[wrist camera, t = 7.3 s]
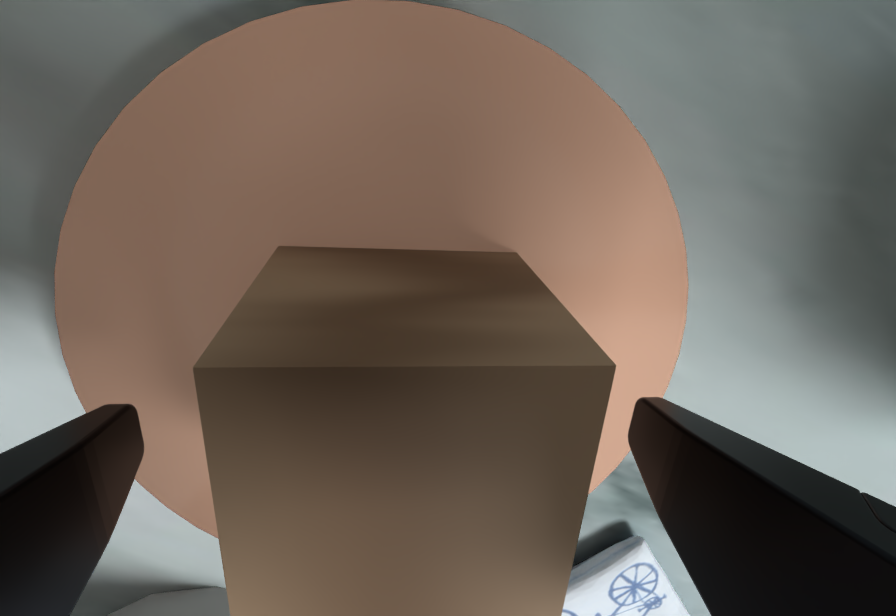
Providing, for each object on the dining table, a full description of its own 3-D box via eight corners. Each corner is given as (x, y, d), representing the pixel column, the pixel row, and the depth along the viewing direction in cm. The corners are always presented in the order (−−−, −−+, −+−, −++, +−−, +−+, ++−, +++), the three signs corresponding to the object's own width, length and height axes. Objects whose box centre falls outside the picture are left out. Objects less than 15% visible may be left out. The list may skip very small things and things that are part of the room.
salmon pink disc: (720, 43, 11) (765, 36, 10) (604, 522, 16) (622, 559, 15) (18, -23, 9) (-42, -44, 8) (147, 545, 14) (123, 589, 13)
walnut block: (516, 252, 11) (616, 365, 6) (494, 440, 13) (557, 632, 8) (278, 245, 10) (192, 367, 6) (292, 445, 12) (237, 659, 7)
